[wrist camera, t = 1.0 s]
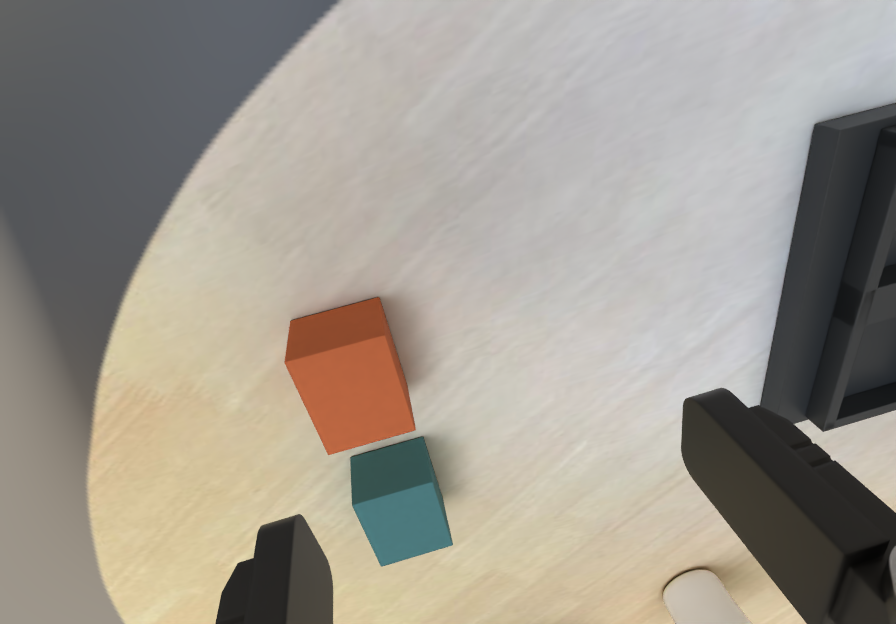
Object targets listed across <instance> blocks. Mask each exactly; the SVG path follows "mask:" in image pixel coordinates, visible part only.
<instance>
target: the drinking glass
mask: <svg viewBox="0 0 896 624" xmlns="http://www.w3.org/2000/svg"><path fill="white" fill-rule="evenodd" d="M663 602H664V604H665V606H666V608H667V610H668V612H669V614H670V615H671V617H672V619H673V621H674V623H675V624H752V622H751V621H750V620H749V619H748V617H747V616H746V615H745V613H744V612H743V611H742V610H741V608H740V607H739V606H738V604H737V603H736V602H735V600H734V599H733V598H732V597H731V595H730V594H729V592H728V591H727V589H726V588H725V586H724V585H723V584H722V582H721V581H720V579H719V578H718V577H717V576H716V575H715V574H714V573H713V572H711V571H708V570H693V571H689V572H686V573H684V574H682V575H680V576H678V577H677V578H675V579H674V580H672V581H671V582H670V583H669V584H668V585H667V587H666V588H665V590H664V592H663Z"/></svg>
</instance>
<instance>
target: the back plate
mask: <svg viewBox="0 0 896 624" xmlns="http://www.w3.org/2000/svg"><path fill="white" fill-rule="evenodd" d="M760 406H761V407H763V408H765V409H768V410H770V411H772V412H774V413H776V414H778V415H780V416H782V417H784V418H786V419H788V420H789V421H790V422H791V423H793V424H795V423H798V422H802V421H805V420H808V419H809V420H810V421H811V422H812V423H814V424H815V425H816V426H817V427H818V428H819V429H820V430H822V431H823V432H824V431H828V430H831V429H834V428H838V427H841V426H844V425H848V424H851V423H854V422H858V421H861V420H864V419H867V418H871V417H874V416H877V415H881V414H884V413H887V412H891V411H894V410H896V103H895V104H891V105H887V106H883V107H880V108H876V109H872V110H868V111H864V112H860V113H857V114H853V115H849V116H845V117H841V118H837V119H834V120H830V121H826V122H822V123H818V124H815V127H814V132H813V137H812V142H811V147H810V153H809V158H808V163H807V168H806V173H805V178H804V184H803V189H802V194H801V199H800V204H799V209H798V215H797V220H796V225H795V230H794V235H793V240H792V245H791V251H790V256H789V261H788V266H787V271H786V276H785V282H784V287H783V292H782V297H781V302H780V307H779V313H778V318H777V323H776V328H775V333H774V338H773V344H772V349H771V354H770V359H769V364H768V369H767V374H766V380H765V385H764V390H763V395H762V400H761V405H760Z"/></svg>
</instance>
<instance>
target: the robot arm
mask: <svg viewBox="0 0 896 624" xmlns="http://www.w3.org/2000/svg"><path fill="white" fill-rule="evenodd" d="M681 452H682V457H683V460H684V463H685V466H686V468H687V470H688V472H689V474H690V475H691V477H692V478H693V480H694V481H695V482H696V484H697V485H698V486H699V487H700V489H701V490H702V491H703V492H704V494H705V495H706V496H707V498H708V499H709V500H710V501H711V503H712V504H713V505H714V506H715V508H716V509H717V510H718V511H719V513H720V514H721V515H722V517H723V518H724V519H725V520H726V522H727V523H728V524H729V525H730V527H731V528H732V529H733V531H734V532H735V533H736V534H737V536H738V537H739V538H740V539H741V541H742V542H743V543H744V544H745V546H746V547H747V548H748V550H749V551H750V552H751V553H752V555H753V556H754V557H755V558H756V560H757V561H758V562H759V563H760V565H761V566H762V567H763V569H764V570H765V571H766V572H767V574H768V575H769V576H770V577H771V579H772V580H773V581H774V582H775V584H776V585H777V586H778V588H779V589H780V590H781V591H782V593H783V594H784V595H785V596H786V598H787V599H788V600H789V601H790V603H791V604H792V605H793V607H794V608H795V609H796V610H797V612H798V613H799V614H800V615H801V617H802V618H803V619H804V621H805V622H806V623H807V624H896V513H895V512H894V511H893V510H892V509H891V508H889V507H888V506H887V505H886V504H885V503H884V502H882V501H881V500H880V499H879V498H878V497H877V496H876V495H874V494H873V493H872V492H871V491H870V490H869V489H868V488H866V487H865V486H864V485H863V484H862V483H861V482H859V481H858V480H857V479H856V478H855V477H854V476H853V475H851V474H850V473H849V472H848V471H847V470H846V469H844V468H843V467H842V466H841V465H840V464H839V463H838V462H836V461H832V460H831V458H830V456H829V455H828V454H827V453H826V452H825V451H824V450H823V449H821V448H820V447H819V446H818V445H817V444H816V443H815V444H813V443H812V442H811V439H810V438H809V437H808V436H806V435H805V434H804V433H803V432H802V431H801V430H800V429H798V428H797V427H796V426H795V425H794V424H793V423H791V422H790V421H789V420H788V419H786V418H784V417H782V416H780V415H778V414H776V413H774V412H772V411H770V410H768V409H765V408H763V407H761V406H759V405H757V406H754V407H751V408H748V407H747V406H745V405H744V404H743V403H742V402H741V401H740V400H739V399H738V398H737V397H736V396H735V395H734V394H732V393H731V392H730V391H729V390H727V389H724V388H719V389H716V390H712V391H709V392H706V393H702V394H699V395H696V396H692V397H689V398H686V399H685V401H684V403H683V418H682V441H681ZM216 624H333V582H332V575H331V570H330V566H329V563H328V560H327V558H326V556H325V554H324V552H323V551H322V549H321V547H320V545H319V543H318V542H317V540H316V538H315V536H314V535H313V533H312V531H311V529H310V528H309V526H308V524H307V522H306V520H305V519H304V517H303V516H302V515H300V514H298V515H295V516H292V517H288V518H285V519H282V520H278V521H275V522H272V523H268V524H265V525H262V526H261V527H260V529H259V531H258V534H257V540H256V546H255V553H254V558H253V559H249V560H246V561H243V562H240V563H238V564H237V566H236V568H235V569H234V571H233V573H232V575H231V577H230V579H229V580H228V582H227V584H226V586H225V588H224V590H223V591H222V594H221V599H220V604H219V609H218V614H217V619H216Z"/></svg>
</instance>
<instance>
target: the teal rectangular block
mask: <svg viewBox="0 0 896 624" xmlns="http://www.w3.org/2000/svg"><path fill="white" fill-rule="evenodd" d="M350 460H351V487H352V506H353V508H354V510H355V512H356V515H357V517H358V519H359V521H360V523H361V525H362V527H363V529H364V531H365V534H366V536H367V538H368V540H369V542H370V544H371V546H372V548H373V550H374V553H375V555H376V557H377V559H378V561H379V563H380V565H381V566H385V565H389V564H392V563H395V562H399V561H402V560H405V559H409V558H412V557H415V556H419V555H422V554H425V553H429V552H432V551H435V550H438V549H442V548H445V547H448V546H452V545H453V543H452V538H451V534H450V529H449V525H448V520H447V516H446V511H445V507H444V502H443V498H442V495H441V492H440V488H439V485H438V482H437V479H436V476H435V472H434V469H433V466H432V463H431V460H430V457H429V453H428V450H427V447H426V444H425V441H424V438H423V437H420V438H416V439H413V440H409V441H406V442H402V443H399V444H395V445H392V446H388V447H385V448H381V449H378V450H374V451H371V452H368V453H364V454H361V455H357V456H354V457H351V458H350Z"/></svg>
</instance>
